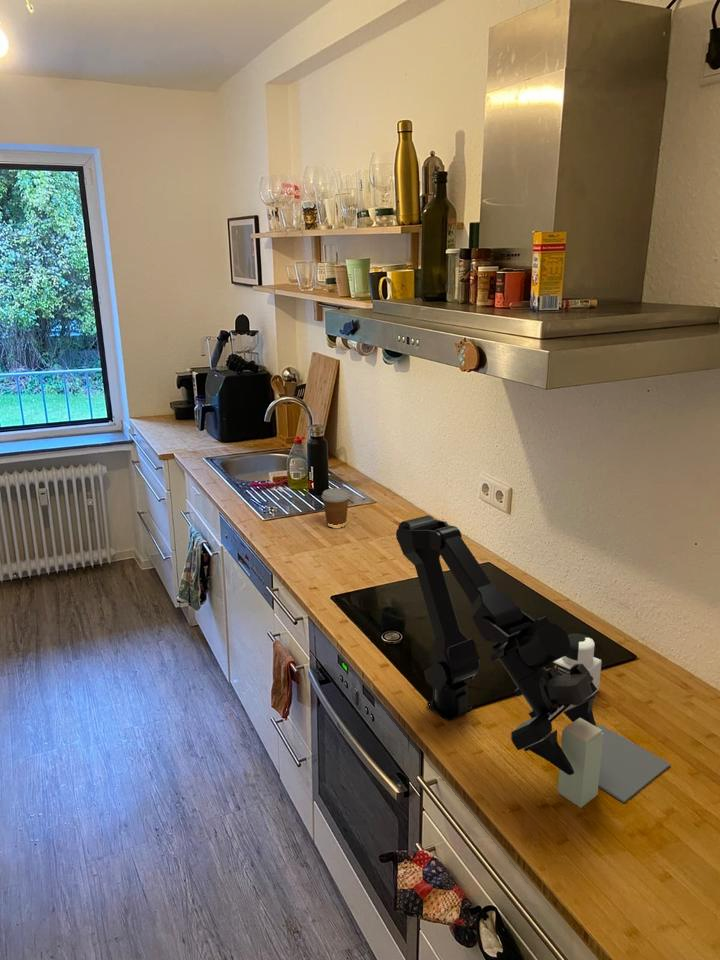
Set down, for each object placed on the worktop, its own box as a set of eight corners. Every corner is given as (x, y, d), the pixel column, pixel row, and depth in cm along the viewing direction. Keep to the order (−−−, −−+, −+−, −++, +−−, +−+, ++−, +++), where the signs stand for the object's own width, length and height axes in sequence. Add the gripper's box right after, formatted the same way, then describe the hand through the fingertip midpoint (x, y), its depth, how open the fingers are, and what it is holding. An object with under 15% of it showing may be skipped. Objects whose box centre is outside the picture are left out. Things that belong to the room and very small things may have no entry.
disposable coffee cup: (316, 527, 234) (315, 493, 231) (334, 518, 242) (333, 486, 238) (338, 532, 229) (337, 498, 225) (356, 524, 236) (355, 490, 233)
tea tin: (557, 792, 115) (562, 727, 111) (574, 779, 117) (579, 716, 114) (580, 807, 111) (586, 741, 108) (597, 795, 114) (603, 730, 110)
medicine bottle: (550, 690, 142) (553, 638, 138) (567, 676, 147) (571, 626, 143) (582, 705, 137) (586, 652, 133) (599, 690, 142) (604, 638, 138)
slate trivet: (553, 757, 123) (553, 755, 123) (599, 726, 131) (600, 724, 131) (624, 803, 112) (624, 801, 112) (670, 765, 120) (670, 763, 120)
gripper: (531, 680, 104) (594, 776, 100) (590, 634, 117) (648, 717, 112) (485, 704, 112) (543, 794, 107) (545, 658, 124) (599, 737, 120)
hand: (586, 759), depth 112 cm, fingers open, 9 cm apart
